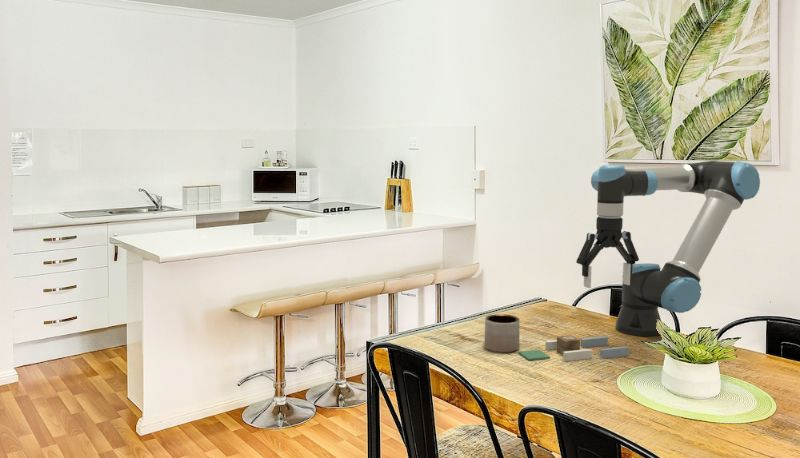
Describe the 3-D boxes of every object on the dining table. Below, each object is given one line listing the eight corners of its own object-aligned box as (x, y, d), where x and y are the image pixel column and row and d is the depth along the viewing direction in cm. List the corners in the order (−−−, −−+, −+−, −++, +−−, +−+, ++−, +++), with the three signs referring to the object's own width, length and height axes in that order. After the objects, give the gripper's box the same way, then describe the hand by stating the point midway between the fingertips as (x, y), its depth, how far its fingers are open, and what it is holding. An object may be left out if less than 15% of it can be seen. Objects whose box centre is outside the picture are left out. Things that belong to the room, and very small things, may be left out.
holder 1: (570, 346, 208) (571, 338, 207) (591, 358, 196) (592, 350, 196) (545, 349, 205) (545, 341, 205) (564, 361, 194) (565, 352, 193)
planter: (518, 354, 200) (519, 324, 199) (483, 352, 202) (483, 322, 201) (519, 343, 211) (520, 314, 209) (485, 341, 213) (486, 313, 211)
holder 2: (605, 344, 210) (606, 336, 210) (628, 355, 199) (628, 347, 198) (580, 346, 207) (581, 338, 207) (602, 358, 196) (602, 350, 196)
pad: (538, 351, 203) (538, 349, 203) (550, 358, 196) (550, 356, 196) (518, 353, 201) (518, 351, 201) (528, 360, 194) (528, 358, 194)
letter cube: (570, 350, 204) (571, 334, 203) (579, 355, 199) (580, 339, 198) (556, 352, 202) (557, 336, 202) (564, 357, 198) (565, 341, 197)
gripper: (637, 213, 204) (634, 280, 207) (566, 216, 197) (564, 285, 200) (653, 216, 197) (649, 285, 200) (579, 219, 190) (577, 291, 193)
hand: (606, 285), depth 200 cm, fingers open, 13 cm apart
